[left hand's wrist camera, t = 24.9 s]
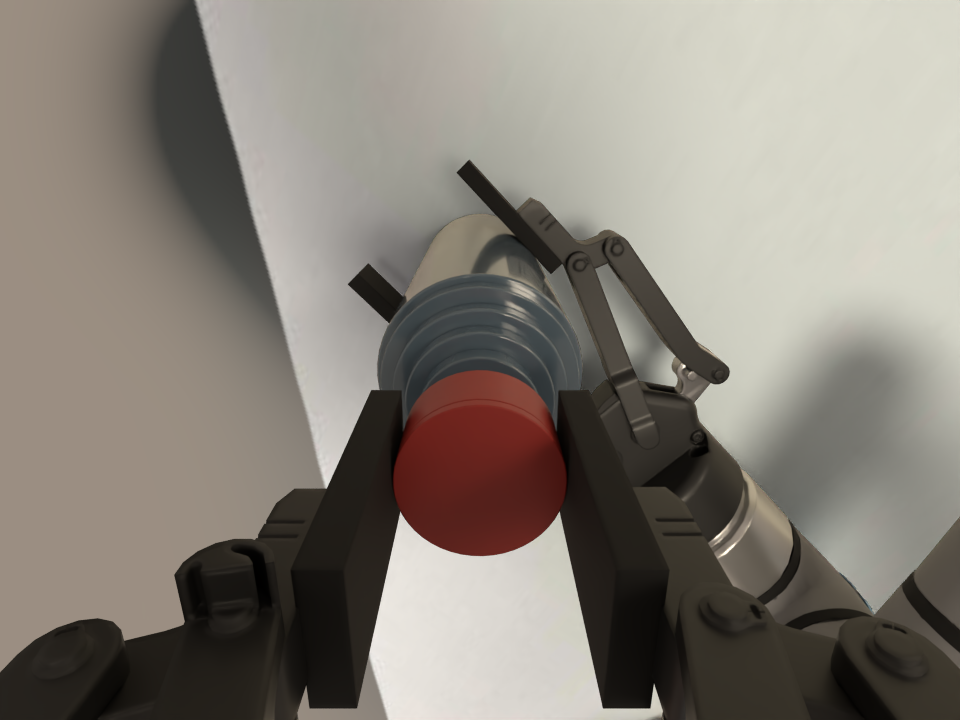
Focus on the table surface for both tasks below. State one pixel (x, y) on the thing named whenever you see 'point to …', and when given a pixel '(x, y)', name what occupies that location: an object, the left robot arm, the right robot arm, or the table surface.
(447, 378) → the cap
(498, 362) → the bottle
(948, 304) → the table surface
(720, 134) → the table surface
